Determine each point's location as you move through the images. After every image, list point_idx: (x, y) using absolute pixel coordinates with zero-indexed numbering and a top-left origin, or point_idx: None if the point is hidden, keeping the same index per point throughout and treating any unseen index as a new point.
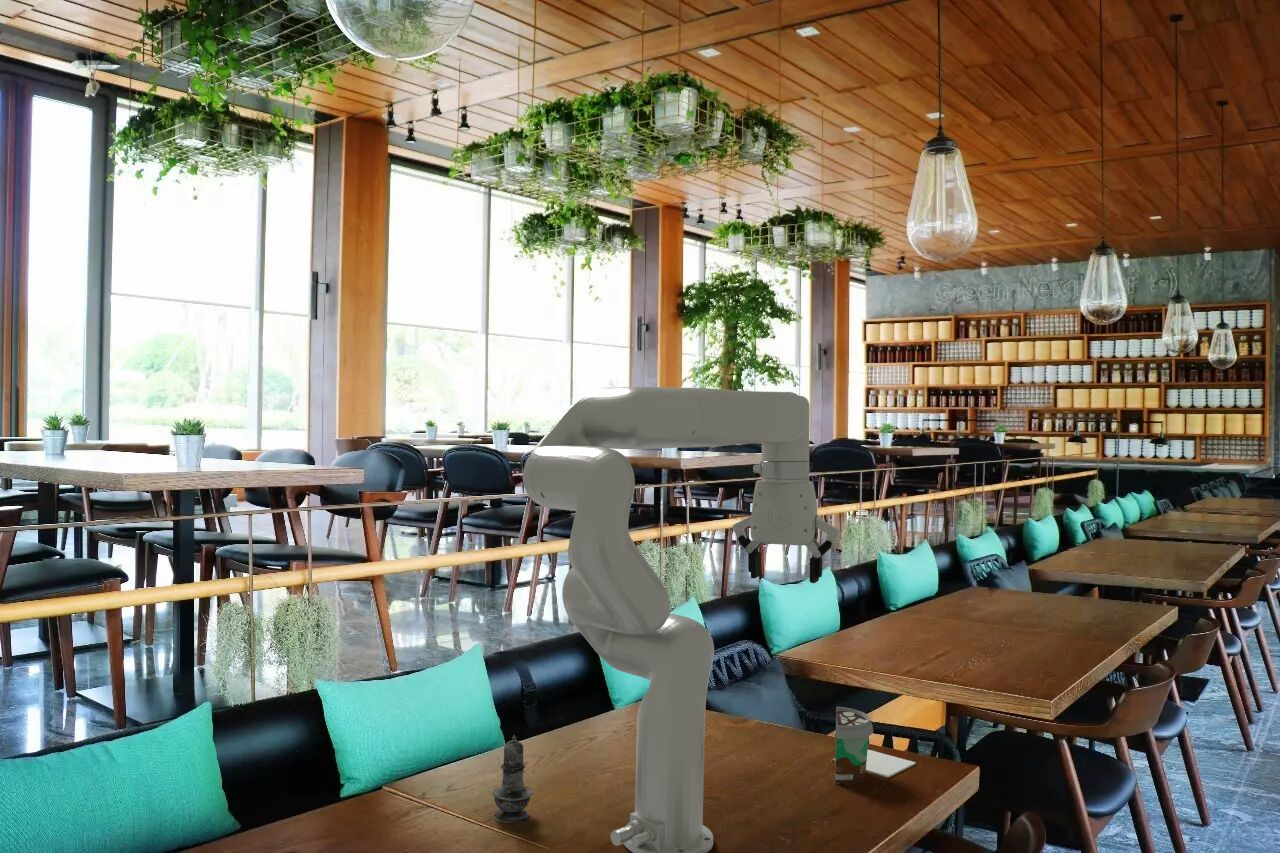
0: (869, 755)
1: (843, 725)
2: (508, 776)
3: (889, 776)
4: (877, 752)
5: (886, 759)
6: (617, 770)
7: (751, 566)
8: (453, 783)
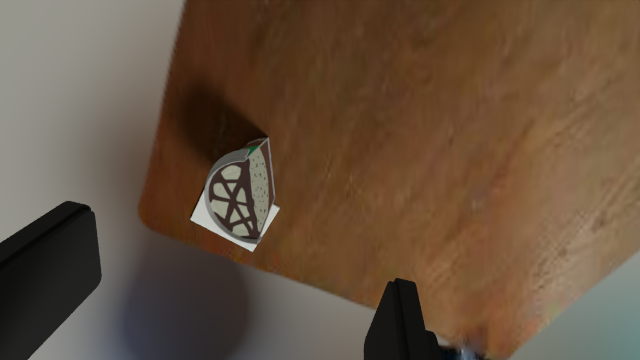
0: None
1: (234, 161)
2: None
3: None
4: (233, 240)
5: None
6: (566, 111)
7: (421, 330)
8: None
